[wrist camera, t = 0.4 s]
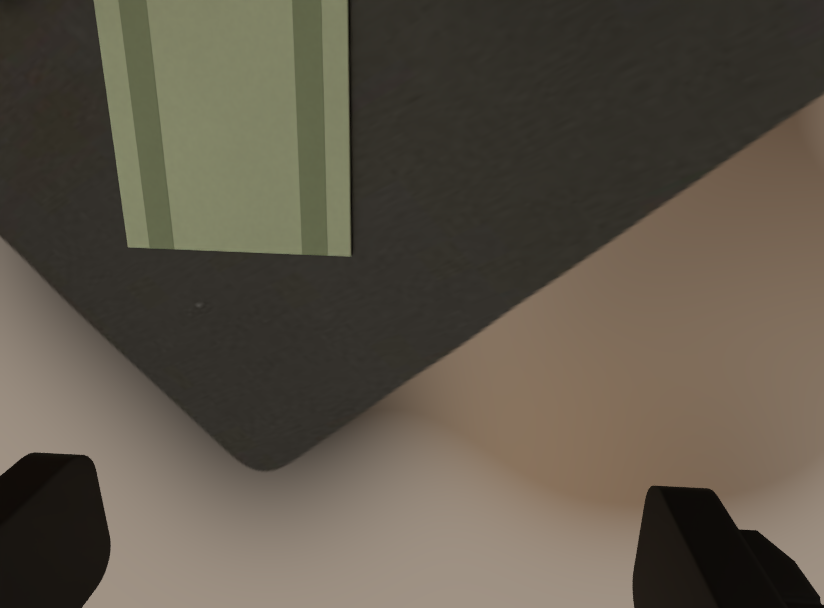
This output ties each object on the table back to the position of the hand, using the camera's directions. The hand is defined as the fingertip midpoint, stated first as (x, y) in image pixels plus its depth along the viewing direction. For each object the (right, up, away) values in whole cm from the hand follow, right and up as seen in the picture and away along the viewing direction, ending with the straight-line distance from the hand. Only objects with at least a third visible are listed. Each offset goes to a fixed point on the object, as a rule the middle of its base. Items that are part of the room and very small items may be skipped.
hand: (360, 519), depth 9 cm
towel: (-10, +13, +26) cm, 31 cm away
